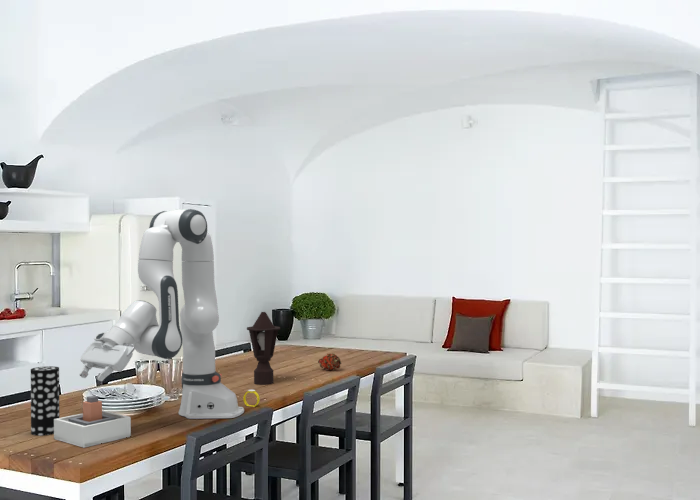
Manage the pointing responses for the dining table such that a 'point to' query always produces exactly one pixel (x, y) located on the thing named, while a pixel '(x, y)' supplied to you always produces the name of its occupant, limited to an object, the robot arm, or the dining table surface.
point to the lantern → (263, 348)
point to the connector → (92, 409)
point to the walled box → (92, 429)
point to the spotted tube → (44, 399)
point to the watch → (256, 396)
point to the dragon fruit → (330, 362)
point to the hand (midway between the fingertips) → (90, 378)
